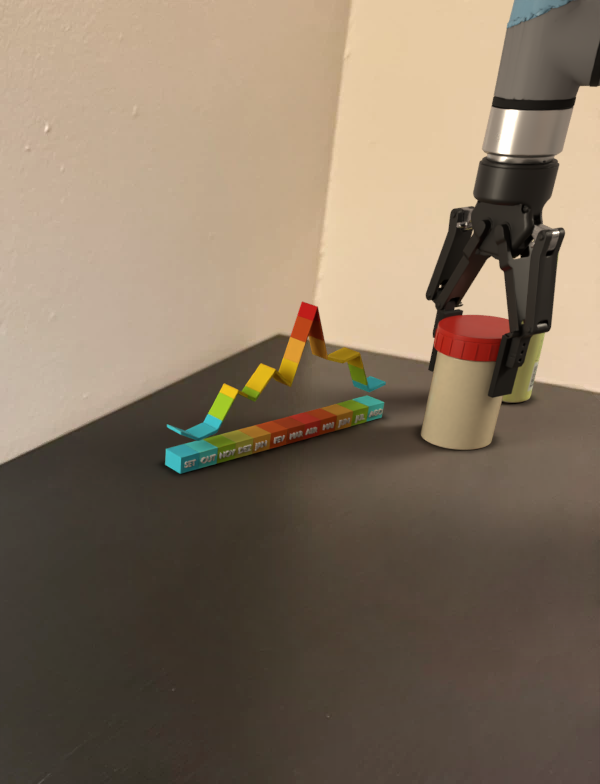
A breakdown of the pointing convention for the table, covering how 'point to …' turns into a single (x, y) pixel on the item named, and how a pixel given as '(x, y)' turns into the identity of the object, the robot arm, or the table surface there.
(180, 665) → the table surface
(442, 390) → the jar
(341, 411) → the chart
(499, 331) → the lid
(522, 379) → the tube
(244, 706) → the table surface
